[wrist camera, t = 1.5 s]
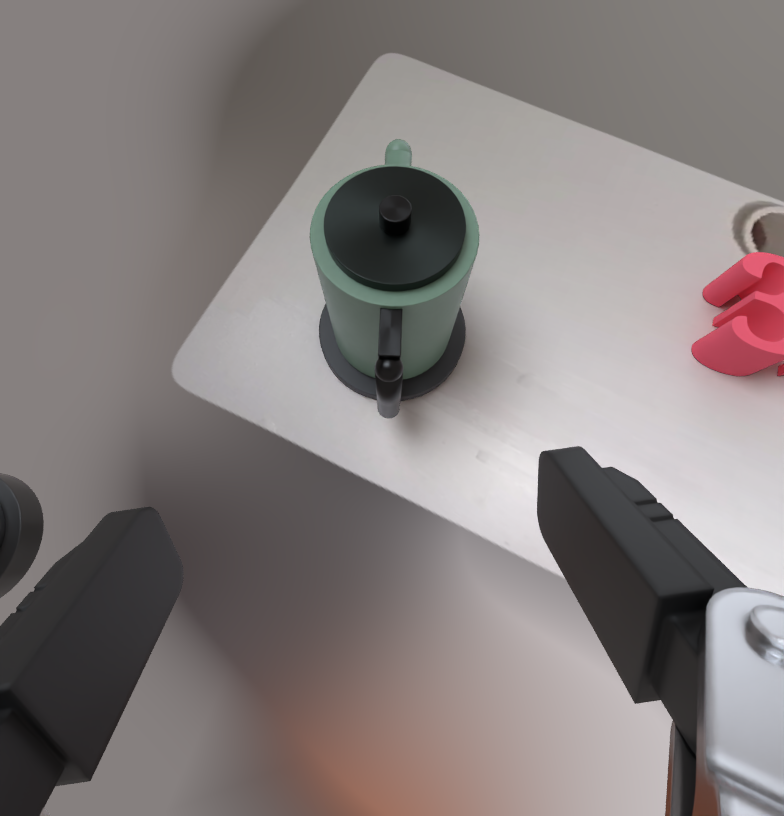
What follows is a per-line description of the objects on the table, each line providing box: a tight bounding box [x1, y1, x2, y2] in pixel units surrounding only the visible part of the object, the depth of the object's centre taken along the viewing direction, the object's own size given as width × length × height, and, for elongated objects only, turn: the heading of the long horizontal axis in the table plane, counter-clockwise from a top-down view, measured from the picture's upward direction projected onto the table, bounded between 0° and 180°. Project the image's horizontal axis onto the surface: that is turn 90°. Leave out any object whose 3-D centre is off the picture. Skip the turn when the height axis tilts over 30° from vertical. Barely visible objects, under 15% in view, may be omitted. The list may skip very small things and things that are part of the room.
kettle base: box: [319, 304, 465, 401], centre depth 40 cm, size 14×14×1 cm
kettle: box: [310, 139, 479, 418], centre depth 32 cm, size 19×11×15 cm, turn 178°
